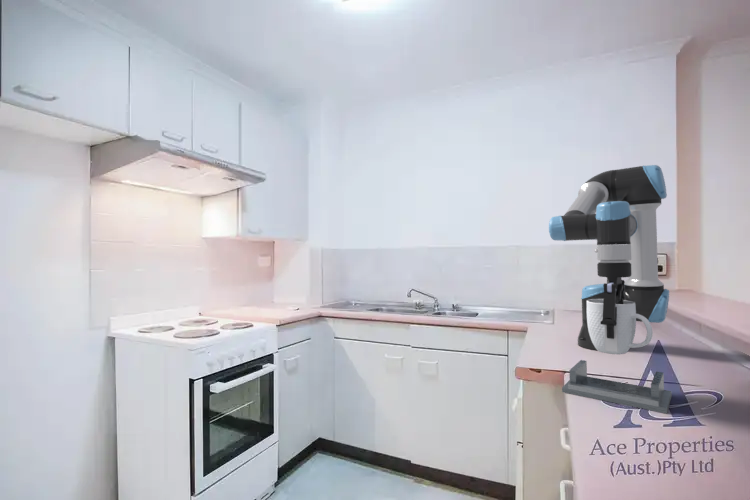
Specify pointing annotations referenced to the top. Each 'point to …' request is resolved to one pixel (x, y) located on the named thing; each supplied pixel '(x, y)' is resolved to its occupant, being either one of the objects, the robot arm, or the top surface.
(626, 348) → the mug
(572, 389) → the dock
